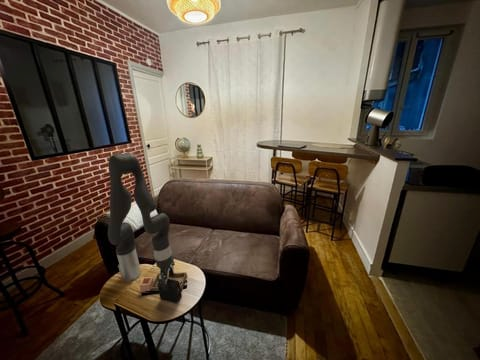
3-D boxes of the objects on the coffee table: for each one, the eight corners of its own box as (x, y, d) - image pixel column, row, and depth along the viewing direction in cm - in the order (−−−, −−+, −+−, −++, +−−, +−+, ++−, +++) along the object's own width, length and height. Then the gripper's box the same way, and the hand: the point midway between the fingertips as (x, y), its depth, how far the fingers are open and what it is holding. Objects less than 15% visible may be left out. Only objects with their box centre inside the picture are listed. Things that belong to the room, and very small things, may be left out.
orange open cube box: (141, 292, 102) (139, 284, 100) (145, 284, 107) (143, 277, 105) (150, 292, 102) (148, 284, 100) (154, 284, 107) (152, 277, 105)
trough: (151, 292, 102) (150, 288, 101) (159, 276, 112) (158, 273, 111) (181, 291, 101) (181, 287, 101) (187, 276, 111) (186, 272, 111)
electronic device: (177, 304, 94) (174, 287, 91) (160, 299, 97) (156, 283, 94) (182, 296, 98) (179, 281, 95) (165, 292, 101) (162, 277, 98)
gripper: (161, 245, 97) (166, 272, 102) (148, 265, 84) (155, 295, 88) (176, 245, 97) (180, 271, 102) (165, 265, 83) (171, 294, 88)
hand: (169, 282), depth 95 cm, fingers open, 8 cm apart
